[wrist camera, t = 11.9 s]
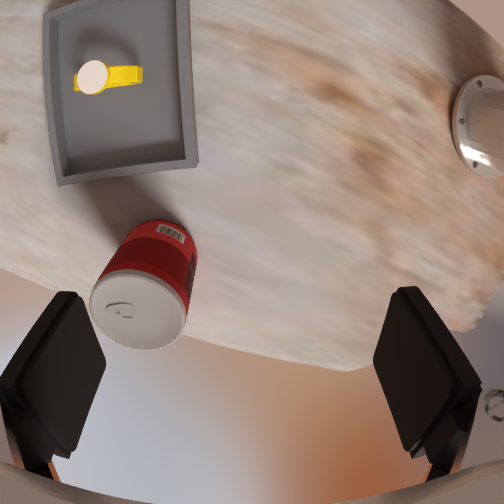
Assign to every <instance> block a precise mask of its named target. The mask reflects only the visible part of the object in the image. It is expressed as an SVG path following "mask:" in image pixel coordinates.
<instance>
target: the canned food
mask: <svg viewBox="0 0 504 504" xmlns="http://www.w3.org/2000/svg"><path fill="white" fill-rule="evenodd" d="M196 265H197V250H196V247H195V244H194V242H193V240H192V238H191V237H190V235H189V234H188V233H187V232H186V231H185V230H184V229H183V228H181V227H180V226H178V225H176V224H174V223H172V222H169V221H164V220H152V221H148V222H145V223H142V224H140V225H138V226H136V227H135V228H134V229H133V230H131V232H130V233H129V234H128V235H127V237H126V238H125V240H124V241H123V243H122V244H121V246H120V247H119V248H118V250H117V251H116V253H115V254H114V256H113V257H112V259H111V260H110V262H109V263H108V265H107V266H106V268H105V269H104V271H103V272H102V274H101V275H100V277H99V278H98V281H97V282H96V284H95V285H94V288H93V290H92V293H91V295H90V301H89V306H90V312H91V315H92V317H93V319H94V321H95V323H96V325H97V326H98V327H99V328H100V329H101V331H102V332H103V333H105V334H106V335H107V336H108V337H109V338H111V339H112V340H114V341H115V342H117V343H119V344H121V345H124V346H126V347H130V348H133V349H139V350H156V349H160V348H164V347H167V346H168V345H170V344H172V343H173V342H175V341H176V340H177V339H178V338H179V336H180V335H181V333H182V331H183V328H184V326H185V323H186V318H187V314H188V308H189V303H190V297H191V292H192V286H193V281H194V275H195V270H196Z"/></svg>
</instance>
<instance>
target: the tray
mask: <svg viewBox="0 0 504 504" xmlns="http://www.w3.org/2000/svg"><path fill="white" fill-rule="evenodd" d="M92 60H99V61H103V62H105V63H106V64H107V65H108V66H119V65H135V66H136V65H137V66H141V67H142V68H143V81H142V82H141V83H139V84H134V85H126V86H118V87H111V88H106V89H104V90H103V91H102V92H100V93H97V94H86V93H83V92H82V91H74V75H75V74H76V73H79V70H80V69H81V67H82V66H83V65H84V64H86V63H87V62H89V61H92ZM43 72H44V89H45V102H46V112H47V121H48V130H49V137H50V144H51V151H52V157H53V163H54V169H55V174H56V179H57V184H58V186H62V185H68V184H74V183H79V182H85V181H92V180H98V179H104V178H111V177H118V176H125V175H133V174H141V173H149V172H158V171H167V170H176V169H187V168H196V166H197V165H198V163H199V157H198V146H197V133H196V120H195V106H194V92H193V75H192V57H191V35H190V7H189V0H79V1H76V2H73V3H70V4H68V5H65V6H62V7H60V8H57V9H55V10H52V11H50V12H47V13H45V14H44V15H43Z"/></svg>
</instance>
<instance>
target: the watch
mask: <svg viewBox="0 0 504 504" xmlns="http://www.w3.org/2000/svg"><path fill="white" fill-rule="evenodd" d="M142 81H143V68H142V67H141V66H137V65H136V66H135V65H119V66H108V65H107V64H106V63H105V62H103V61H99V60H92V61H89V62H87V63H86V64H84V65H83V66H82V67H81V69H80V70H79V73H76V74H75V75H74V91H82V92H83V93H86V94H97V93H100V92H102V91H103V90H104V89H106V88H111V87H118V86H126V85H134V84H139V83H141V82H142Z"/></svg>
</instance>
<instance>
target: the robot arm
mask: <svg viewBox="0 0 504 504" xmlns="http://www.w3.org/2000/svg"><path fill="white" fill-rule="evenodd" d="M452 132H453V138H454V143H455V146H456V149H457V152H458V154H459V156H460V158H461V160H462V161H463V163H464V164H465V165H466V167H467V168H469V169H470V170H471V171H472V172H474V173H475V174H477V175H479V176H482V177H484V178H496V177H499V176H501V175H503V174H504V82H503V81H502V80H500V79H498V78H496V77H494V76H490V75H477V76H474V77H472V78H470V79H468V80H467V81H466V82H465V83H464V84H463V85H462V87H461V89H460V90H459V92H458V94H457V97H456V99H455V102H454V107H453V113H452ZM373 364H374V367H375V370H376V373H377V375H378V378H379V381H380V383H381V386H382V388H383V391H384V394H385V396H386V399H387V402H388V405H389V408H390V410H391V413H392V416H393V419H394V422H395V424H396V427H397V430H398V433H399V436H400V438H401V442H402V445H403V448H404V449H405V451H409V452H410V455H411V458H412V459H414V458H417V457H421V456H424V455H427V458H428V460H429V463H428V466H427V468H426V470H425V473H424V475H423V477H422V479H421V481H420V483H419V484H417V485H414V486H411V487H407V488H403V489H399V490H396V491H391V492H388V493H383V494H379V495H375V496H371V497H367V498H361V499H357V500H351V501H345V502H340V503H333V504H504V387H503V386H499V385H490V386H488V387H486V388H485V389H484V390H482V388H481V387H480V384H481V383H482V382H481V380H480V378H479V377H478V375H477V373H476V372H475V370H474V368H473V367H472V366H471V364H470V362H469V360H468V359H467V357H466V356H465V354H464V353H463V351H462V350H461V348H460V346H459V345H458V343H457V342H456V340H455V339H454V337H453V336H452V334H451V333H450V331H449V330H448V328H447V327H446V325H445V324H444V322H443V321H442V320H441V318H440V317H439V315H438V314H437V312H436V311H435V310H434V308H433V307H432V305H431V304H430V303H429V301H428V300H427V299H426V297H425V296H424V294H423V293H422V292H421V290H420V289H419V288H418V287H417V286H409V287H400V288H398V289H397V291H396V292H394V293H393V294H392V296H391V300H390V303H389V307H388V310H387V314H386V317H385V321H384V324H383V328H382V331H381V334H380V337H379V341H378V344H377V347H376V350H375V353H374V356H373ZM105 368H106V360H105V356H104V354H103V352H102V349H101V347H100V344H99V342H98V339H97V337H96V334H95V332H94V329H93V326H92V323H91V321H90V318H89V315H88V313H87V310H86V307H85V304H84V301H83V299H82V298H81V297H80V296H78V294H77V293H76V292H72V291H59V292H58V293H57V294H56V295H55V296H54V298H53V299H52V300H51V302H50V303H49V304H48V306H47V307H46V309H45V310H44V311H43V313H42V314H41V316H40V317H39V319H38V320H37V321H36V323H35V324H34V325H33V327H32V328H31V330H30V331H29V333H28V334H27V336H26V337H25V339H24V340H23V342H22V343H21V345H20V346H19V348H18V349H17V351H16V352H15V354H14V355H13V357H12V359H11V360H10V362H9V364H8V365H7V367H6V368H5V370H4V371H3V373H2V375H1V376H0V504H151V503H145V502H139V501H133V500H128V499H123V498H117V497H113V496H109V495H104V494H100V493H96V492H92V491H88V490H85V489H81V488H78V487H74V486H71V485H68V484H64V483H61V481H60V479H59V477H58V474H57V472H56V470H55V467H54V465H53V462H52V456H53V454H55V455H57V456H60V457H63V458H67V459H69V457H70V455H71V451H72V452H73V451H75V449H76V447H77V445H78V442H79V439H80V436H81V432H82V430H83V427H84V424H85V421H86V418H87V416H88V413H89V410H90V407H91V405H92V402H93V399H94V396H95V394H96V391H97V389H98V386H99V383H100V381H101V378H102V376H103V373H104V371H105Z"/></svg>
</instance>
